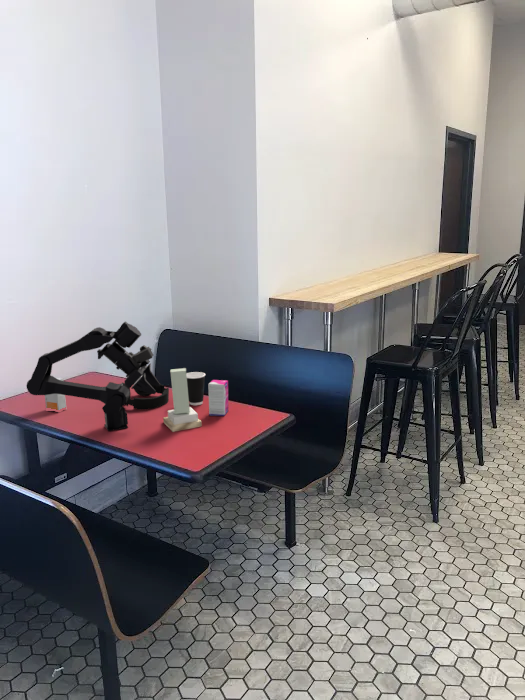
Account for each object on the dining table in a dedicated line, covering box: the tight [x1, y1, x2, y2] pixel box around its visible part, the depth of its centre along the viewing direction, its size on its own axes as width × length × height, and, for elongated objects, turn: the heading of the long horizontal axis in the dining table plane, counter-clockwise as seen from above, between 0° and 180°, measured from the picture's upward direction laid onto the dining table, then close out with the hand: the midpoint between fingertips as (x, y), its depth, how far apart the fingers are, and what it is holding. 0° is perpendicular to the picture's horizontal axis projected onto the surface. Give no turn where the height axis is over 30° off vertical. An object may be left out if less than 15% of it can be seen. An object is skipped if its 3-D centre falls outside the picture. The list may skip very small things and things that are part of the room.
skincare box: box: [44, 377, 67, 410], centre depth 212 cm, size 6×4×12 cm
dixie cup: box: [186, 371, 206, 406], centre depth 216 cm, size 8×8×11 cm
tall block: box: [170, 367, 190, 414], centre depth 193 cm, size 5×5×14 cm
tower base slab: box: [162, 416, 203, 433], centre depth 195 cm, size 10×10×2 cm
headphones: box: [121, 382, 170, 411], centre depth 220 cm, size 18×8×20 cm
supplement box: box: [208, 379, 229, 417], centre depth 204 cm, size 6×6×12 cm
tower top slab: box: [167, 406, 199, 425], centre depth 194 cm, size 8×8×2 cm
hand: (157, 389), depth 192 cm, fingers open, 9 cm apart
